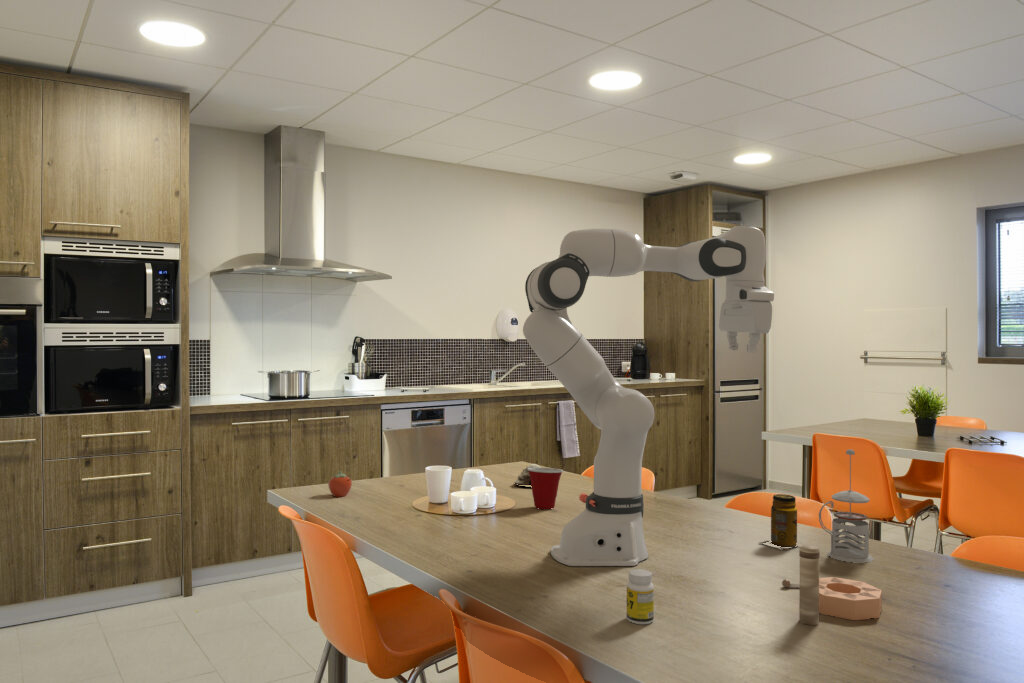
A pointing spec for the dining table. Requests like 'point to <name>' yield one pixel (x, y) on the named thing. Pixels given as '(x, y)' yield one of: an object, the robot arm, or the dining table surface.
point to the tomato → (340, 485)
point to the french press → (849, 528)
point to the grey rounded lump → (525, 476)
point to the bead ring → (849, 599)
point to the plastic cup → (544, 486)
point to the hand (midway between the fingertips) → (742, 351)
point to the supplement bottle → (640, 597)
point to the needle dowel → (809, 585)
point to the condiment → (783, 521)
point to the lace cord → (787, 584)
